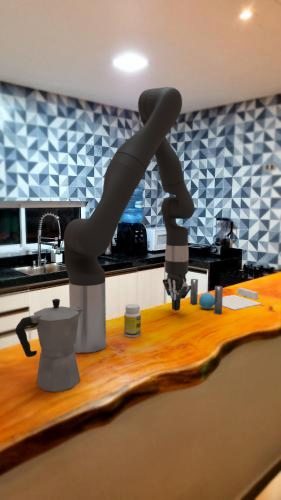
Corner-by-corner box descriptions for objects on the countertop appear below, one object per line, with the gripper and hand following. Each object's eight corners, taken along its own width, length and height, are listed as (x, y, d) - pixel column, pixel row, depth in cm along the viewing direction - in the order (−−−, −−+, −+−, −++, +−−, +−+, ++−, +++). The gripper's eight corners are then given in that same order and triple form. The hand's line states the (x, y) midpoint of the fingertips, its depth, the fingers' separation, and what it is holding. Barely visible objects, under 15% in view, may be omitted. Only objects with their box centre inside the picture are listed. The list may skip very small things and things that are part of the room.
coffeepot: (72, 364, 86) (70, 289, 83) (97, 378, 79) (95, 297, 76) (8, 387, 75) (4, 302, 72) (30, 406, 68) (26, 313, 66)
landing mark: (234, 310, 127) (234, 309, 127) (206, 300, 138) (206, 299, 138) (261, 304, 134) (261, 303, 134) (233, 295, 146) (233, 294, 146)
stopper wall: (255, 299, 140) (255, 293, 140) (237, 294, 148) (237, 288, 147) (257, 298, 141) (258, 292, 140) (240, 293, 148) (240, 287, 148)
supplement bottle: (138, 338, 101) (139, 308, 100) (122, 337, 102) (122, 307, 101) (142, 332, 106) (142, 304, 105) (126, 330, 107) (126, 303, 106)
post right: (217, 314, 122) (218, 288, 120) (212, 312, 124) (213, 286, 123) (223, 313, 123) (224, 287, 122) (218, 311, 125) (219, 285, 124)
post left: (193, 305, 132) (193, 280, 131) (188, 303, 135) (189, 279, 133) (198, 304, 134) (199, 279, 132) (194, 302, 136) (194, 278, 135)
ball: (212, 313, 126) (203, 304, 124) (202, 309, 131) (193, 301, 128) (220, 300, 128) (212, 291, 125) (209, 297, 132) (201, 288, 130)
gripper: (155, 256, 123) (155, 306, 125) (180, 262, 112) (179, 317, 114) (173, 254, 127) (173, 303, 129) (199, 260, 116) (197, 313, 118)
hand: (175, 309), depth 122 cm, fingers closed
